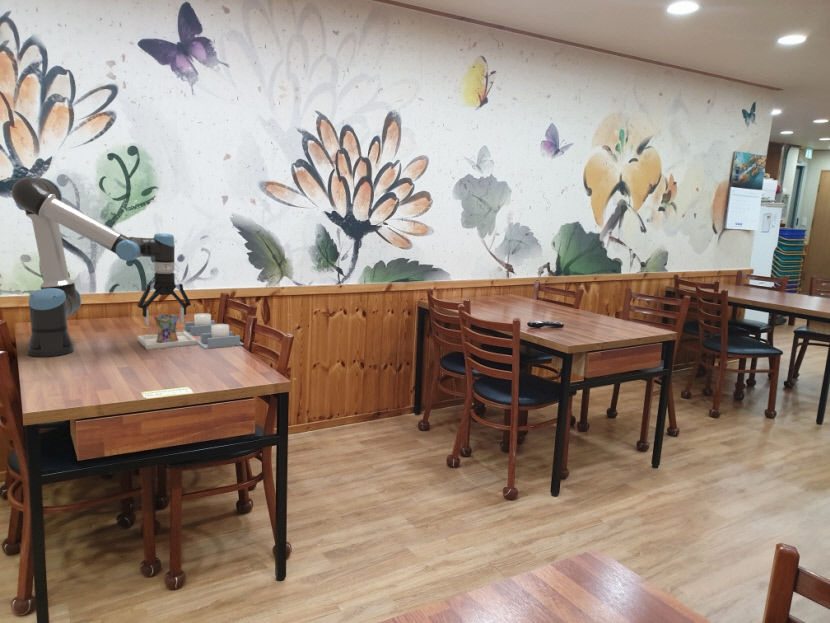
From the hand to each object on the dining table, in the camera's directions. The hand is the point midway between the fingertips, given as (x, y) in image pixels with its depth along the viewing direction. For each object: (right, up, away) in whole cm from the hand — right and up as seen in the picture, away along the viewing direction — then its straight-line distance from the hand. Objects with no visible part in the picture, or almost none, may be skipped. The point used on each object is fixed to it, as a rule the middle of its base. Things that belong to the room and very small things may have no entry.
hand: (164, 323), depth 250 cm
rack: (+15, -6, +13) cm, 21 cm away
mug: (0, -8, +1) cm, 8 cm away
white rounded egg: (+22, -9, +3) cm, 24 cm away
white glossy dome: (+8, -4, +23) cm, 25 cm away
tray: (0, -8, +2) cm, 8 cm away
